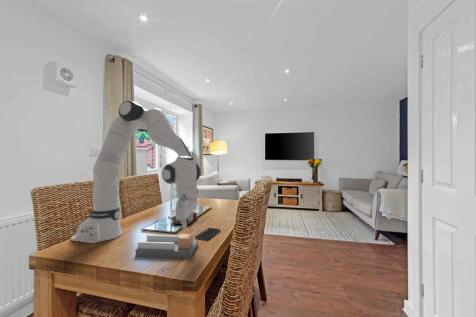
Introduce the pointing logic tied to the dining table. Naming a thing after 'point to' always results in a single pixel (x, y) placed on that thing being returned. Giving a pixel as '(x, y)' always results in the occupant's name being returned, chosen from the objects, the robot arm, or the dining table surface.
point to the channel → (164, 247)
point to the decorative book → (186, 219)
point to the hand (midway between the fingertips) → (187, 224)
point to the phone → (207, 234)
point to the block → (185, 240)
